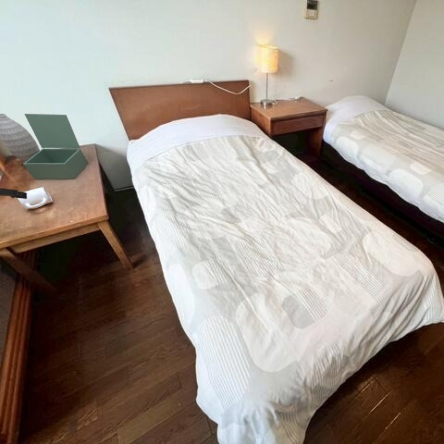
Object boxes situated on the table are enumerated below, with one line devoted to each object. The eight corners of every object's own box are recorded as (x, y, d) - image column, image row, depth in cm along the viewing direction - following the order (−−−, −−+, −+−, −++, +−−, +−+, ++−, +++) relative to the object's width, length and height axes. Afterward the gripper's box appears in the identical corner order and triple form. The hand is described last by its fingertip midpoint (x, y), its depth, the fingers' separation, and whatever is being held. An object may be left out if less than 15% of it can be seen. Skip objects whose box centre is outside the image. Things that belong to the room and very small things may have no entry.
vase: (47, 155, 155) (16, 109, 136) (48, 164, 148) (15, 117, 129) (20, 160, 149) (-16, 112, 130) (20, 170, 142) (-19, 120, 123)
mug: (26, 204, 122) (15, 191, 117) (51, 196, 128) (42, 184, 122) (29, 216, 116) (17, 203, 111) (55, 208, 122) (45, 195, 116)
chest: (74, 179, 140) (64, 163, 133) (34, 179, 137) (22, 164, 130) (88, 163, 152) (80, 148, 146) (52, 163, 149) (42, 148, 143)
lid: (65, 115, 135) (70, 113, 139) (24, 113, 132) (30, 112, 136) (79, 148, 145) (84, 145, 149) (41, 148, 142) (47, 145, 146)
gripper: (-99, 199, 83) (-27, 205, 104) (-12, 197, 87) (40, 204, 108) (-99, 177, 83) (-27, 187, 104) (-12, 176, 87) (40, 187, 108)
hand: (7, 196), depth 106 cm, fingers open, 13 cm apart
